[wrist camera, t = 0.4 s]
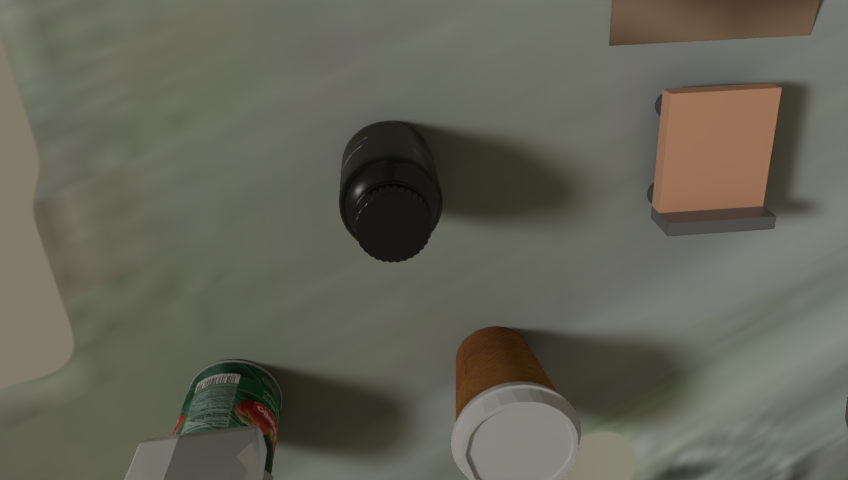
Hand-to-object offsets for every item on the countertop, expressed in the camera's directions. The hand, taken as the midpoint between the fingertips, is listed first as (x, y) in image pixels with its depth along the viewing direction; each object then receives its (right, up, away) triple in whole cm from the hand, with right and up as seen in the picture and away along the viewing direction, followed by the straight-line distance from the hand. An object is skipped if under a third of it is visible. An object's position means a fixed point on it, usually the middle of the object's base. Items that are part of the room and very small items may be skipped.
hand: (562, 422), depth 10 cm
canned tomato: (-18, -11, +55) cm, 59 cm away
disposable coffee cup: (+4, -8, +55) cm, 56 cm away
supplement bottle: (-5, +8, +47) cm, 48 cm away
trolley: (+19, +10, +48) cm, 53 cm away
